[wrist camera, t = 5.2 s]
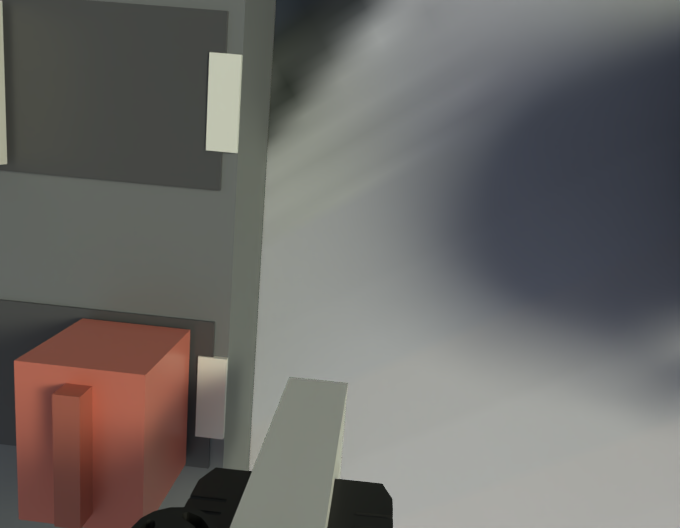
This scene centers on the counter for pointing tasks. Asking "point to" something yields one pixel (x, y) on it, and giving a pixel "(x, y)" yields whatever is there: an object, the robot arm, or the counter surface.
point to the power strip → (137, 197)
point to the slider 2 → (101, 423)
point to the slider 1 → (2, 97)
